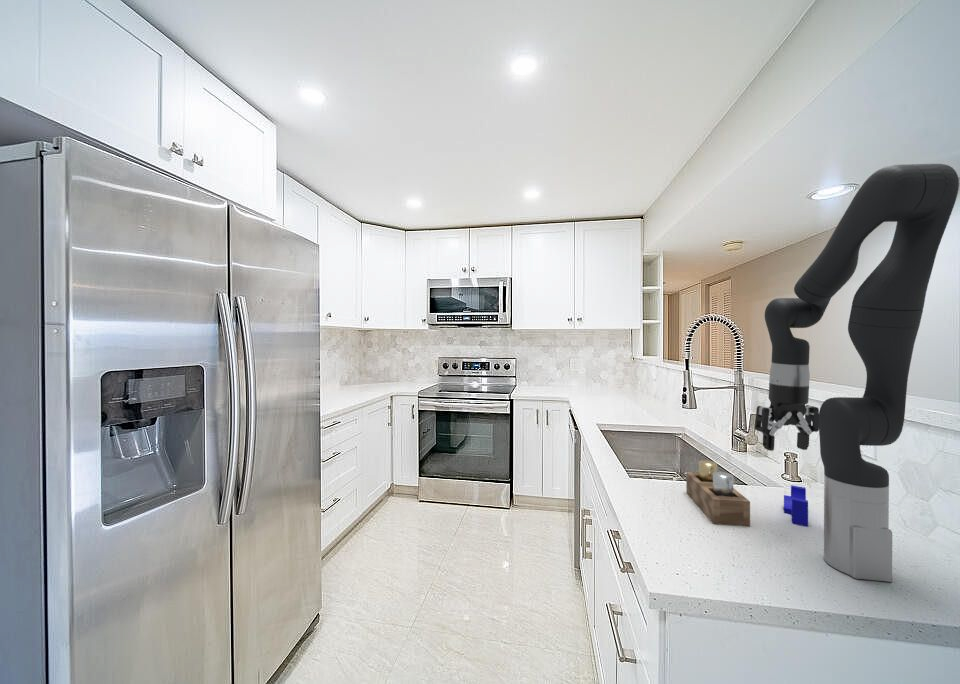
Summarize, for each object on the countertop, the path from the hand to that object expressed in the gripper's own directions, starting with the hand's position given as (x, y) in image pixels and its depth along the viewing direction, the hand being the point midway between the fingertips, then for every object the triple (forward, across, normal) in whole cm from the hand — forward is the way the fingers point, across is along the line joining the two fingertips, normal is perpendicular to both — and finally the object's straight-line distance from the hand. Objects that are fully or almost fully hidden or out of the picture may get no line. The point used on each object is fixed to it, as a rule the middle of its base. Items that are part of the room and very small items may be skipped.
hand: (785, 449), depth 96 cm
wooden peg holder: (+19, -10, +10) cm, 24 cm away
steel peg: (+14, -12, +5) cm, 19 cm away
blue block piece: (+19, +7, +4) cm, 21 cm away
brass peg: (+15, -9, +15) cm, 23 cm away
